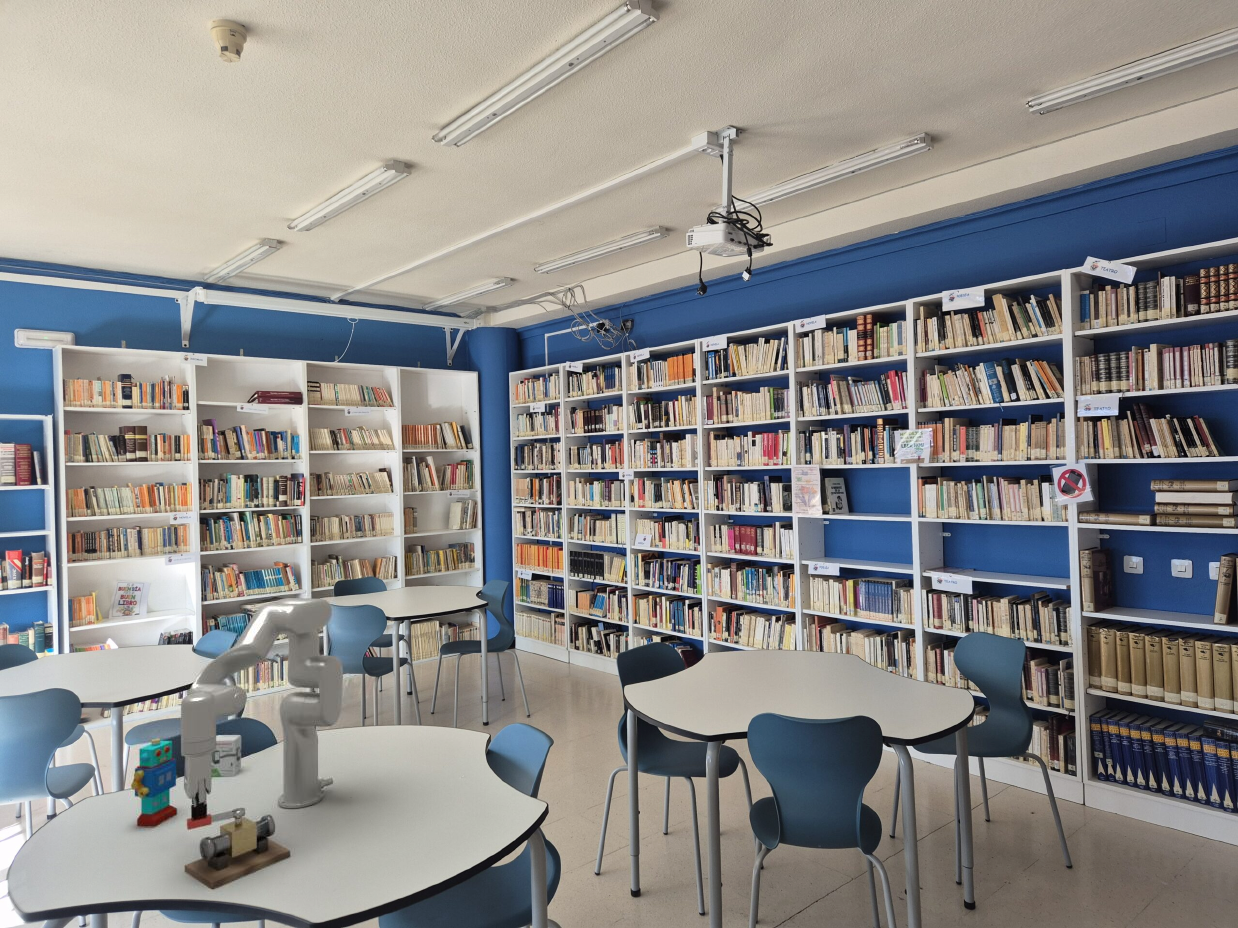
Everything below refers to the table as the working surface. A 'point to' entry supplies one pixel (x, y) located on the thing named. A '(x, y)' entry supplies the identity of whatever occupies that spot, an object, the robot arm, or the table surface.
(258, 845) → the valve pipe
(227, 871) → the mounting board
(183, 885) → the table surface
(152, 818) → the toy robot
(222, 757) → the ink box
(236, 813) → the valve lever
